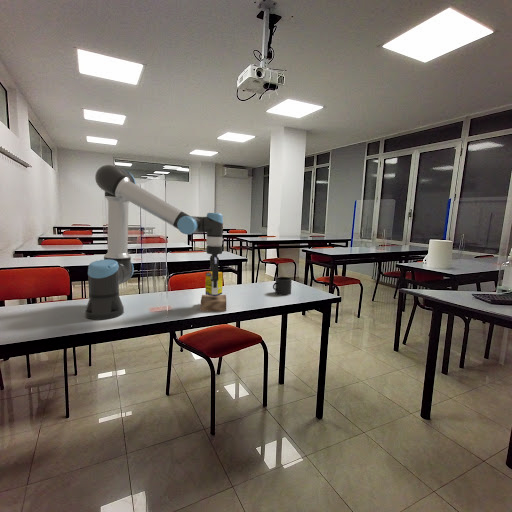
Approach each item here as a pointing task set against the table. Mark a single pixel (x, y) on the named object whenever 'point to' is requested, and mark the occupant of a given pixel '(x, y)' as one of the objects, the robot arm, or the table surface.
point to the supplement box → (209, 283)
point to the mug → (282, 285)
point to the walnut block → (213, 303)
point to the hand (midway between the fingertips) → (213, 291)
